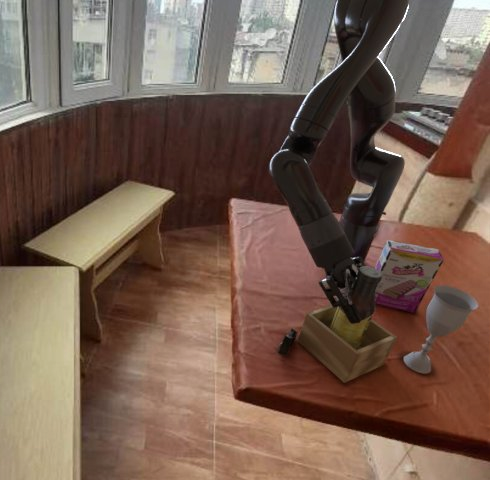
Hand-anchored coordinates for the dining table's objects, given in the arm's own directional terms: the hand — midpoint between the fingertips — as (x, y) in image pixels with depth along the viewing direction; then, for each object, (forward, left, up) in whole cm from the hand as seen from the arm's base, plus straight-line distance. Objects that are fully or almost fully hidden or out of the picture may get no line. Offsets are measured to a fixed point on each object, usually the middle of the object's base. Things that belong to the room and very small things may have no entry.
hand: (364, 315), depth 82 cm
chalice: (-13, +7, -12) cm, 19 cm away
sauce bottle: (+1, -2, -11) cm, 11 cm away
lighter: (+11, -7, -12) cm, 17 cm away
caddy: (0, -2, -12) cm, 12 cm away
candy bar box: (-26, -9, -12) cm, 30 cm away
